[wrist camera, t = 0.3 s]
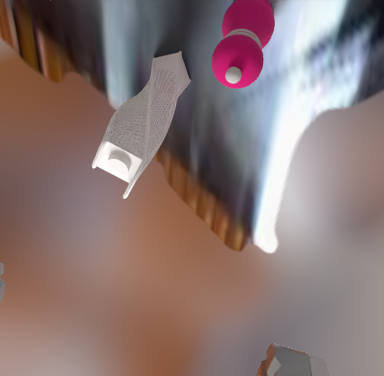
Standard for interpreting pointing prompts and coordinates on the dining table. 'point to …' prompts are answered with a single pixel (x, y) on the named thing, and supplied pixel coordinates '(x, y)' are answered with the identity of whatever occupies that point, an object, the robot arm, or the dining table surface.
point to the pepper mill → (243, 42)
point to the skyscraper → (143, 121)
